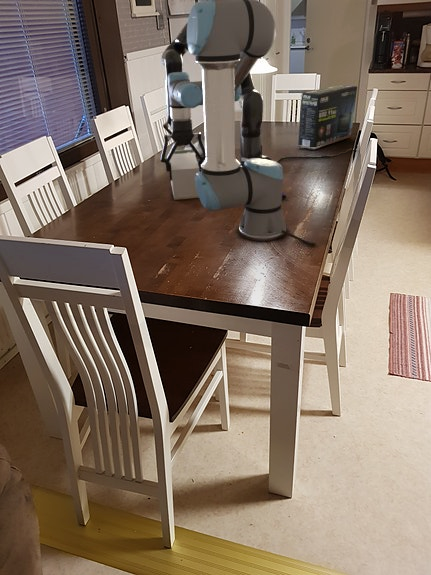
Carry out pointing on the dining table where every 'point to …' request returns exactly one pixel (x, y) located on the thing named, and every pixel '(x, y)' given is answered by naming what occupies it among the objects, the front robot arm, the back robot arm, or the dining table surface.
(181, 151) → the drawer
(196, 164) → the white box
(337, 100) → the router box
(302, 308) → the dining table surface
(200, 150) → the fossil
